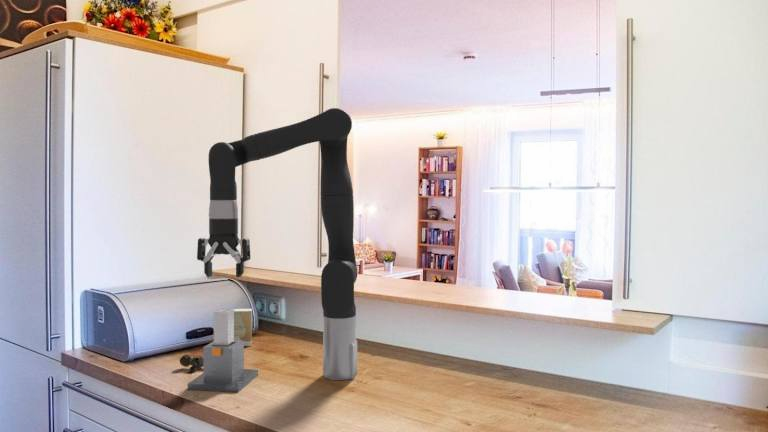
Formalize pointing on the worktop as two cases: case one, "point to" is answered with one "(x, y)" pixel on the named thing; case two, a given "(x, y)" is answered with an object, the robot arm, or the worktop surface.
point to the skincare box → (243, 325)
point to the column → (224, 327)
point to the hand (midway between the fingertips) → (223, 276)
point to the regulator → (192, 362)
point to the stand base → (223, 369)
